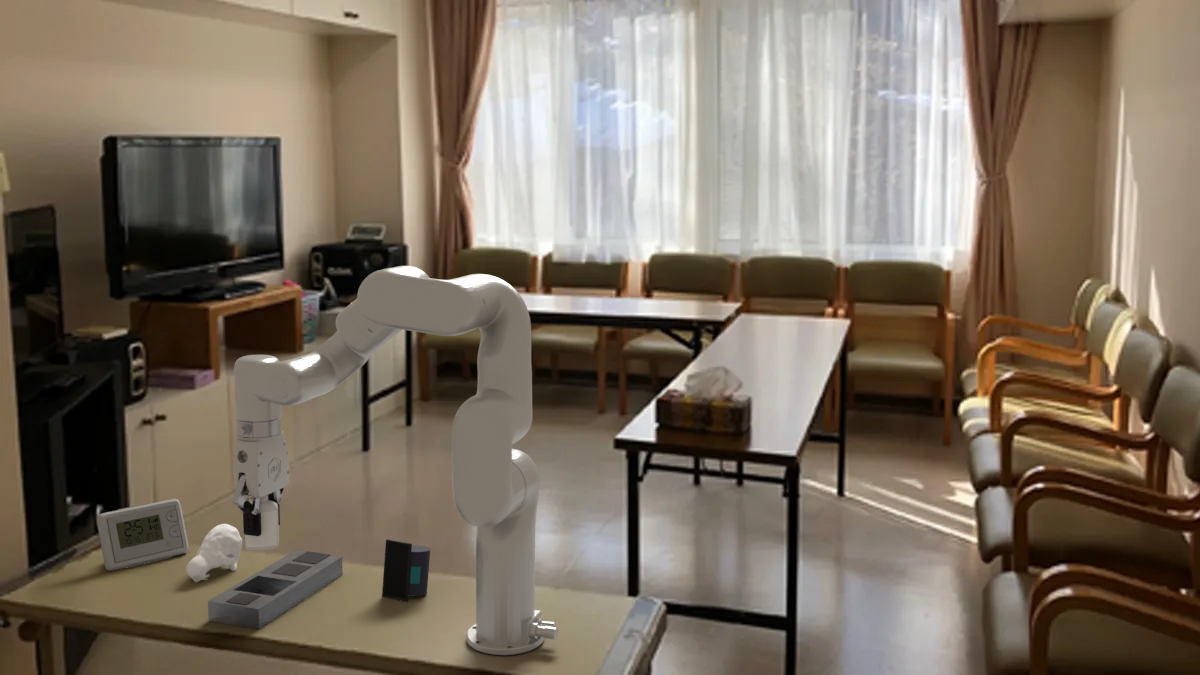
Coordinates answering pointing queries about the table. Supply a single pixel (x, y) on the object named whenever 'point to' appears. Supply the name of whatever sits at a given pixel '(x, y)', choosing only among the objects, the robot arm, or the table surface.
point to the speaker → (405, 570)
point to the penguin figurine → (216, 552)
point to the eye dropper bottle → (265, 527)
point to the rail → (274, 589)
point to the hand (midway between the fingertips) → (262, 528)
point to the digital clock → (142, 534)
